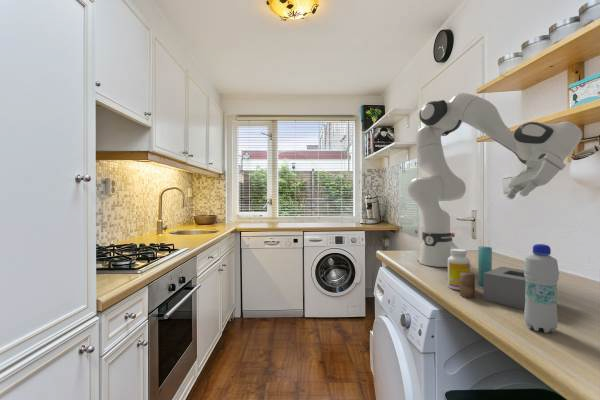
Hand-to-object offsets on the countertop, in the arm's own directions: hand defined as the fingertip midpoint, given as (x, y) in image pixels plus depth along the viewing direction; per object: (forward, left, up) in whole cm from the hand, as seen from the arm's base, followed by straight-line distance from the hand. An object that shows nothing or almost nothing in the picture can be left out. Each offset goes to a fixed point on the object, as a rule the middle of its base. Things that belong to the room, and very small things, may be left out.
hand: (515, 196), depth 110 cm
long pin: (+7, -7, -30) cm, 32 cm away
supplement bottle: (+17, -11, -31) cm, 37 cm away
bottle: (+35, +17, -31) cm, 49 cm away
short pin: (+24, -5, -30) cm, 39 cm away
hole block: (+17, +6, -30) cm, 35 cm away
